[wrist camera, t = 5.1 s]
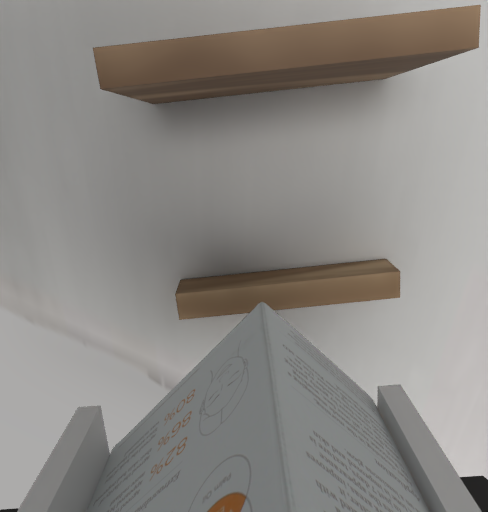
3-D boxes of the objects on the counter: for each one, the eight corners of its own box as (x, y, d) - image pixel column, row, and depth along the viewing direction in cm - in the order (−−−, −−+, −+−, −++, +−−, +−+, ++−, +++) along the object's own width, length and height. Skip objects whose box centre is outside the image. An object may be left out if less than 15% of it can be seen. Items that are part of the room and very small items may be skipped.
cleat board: (149, 79, 29) (92, 47, 18) (384, 53, 29) (480, 4, 18) (184, 303, 34) (157, 393, 23) (386, 282, 34) (463, 363, 22)
